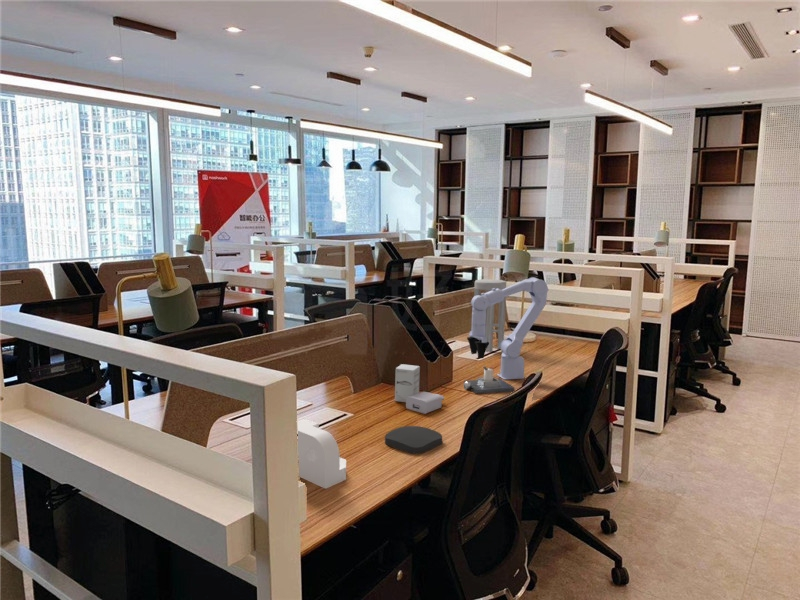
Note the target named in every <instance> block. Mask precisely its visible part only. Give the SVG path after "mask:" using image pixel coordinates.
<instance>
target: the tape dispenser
mask: <svg viewBox="0 0 800 600" xmlns="http://www.w3.org/2000/svg"><path fill="white" fill-rule="evenodd" d="M297 421H298V453H299V476H298V478H302V479H304V480H306V481H308V482H310V483H312V484H314V485H316V486H318V487H321V488H323V489H325V490H326V489H329V488H330V487H332V486H335V485H337V484H339V483H341V482H343V481H346V480H347V459H345V458H343V457H340V449H339V445H338V442H337V441H336V439H335V438H334V436H333V435H332V434H331V433H330V432H329V431H327V430H325V429H323V428H319V427H320V425H319V423H318V422H315V421H312V420H309V419H306V418H303V419H301V420H297Z"/></svg>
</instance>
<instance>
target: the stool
mask: <svg viewBox="0 0 800 600" xmlns="http://www.w3.org/2000/svg"><path fill="white" fill-rule="evenodd" d="M493 288H495V289H497V288H498V289H500V290H502V289H505V288H507V281H505V280H501V279H492V278H487V279H486V278H485V279H483V278H482V279H475V281H474V287H473V289H474V290H473V291H474V293H473V294H474V295H473V297H474V296H476V295H480V296H481V293H482V291H485V293H487V292H489V291H492V289H493ZM506 299H507V296H506V297H504V299H503V301H501V302H499V303H498V322H497V323H494V321H495V320H494V319H495V304H494V305H491V306H488V307H487V308H486V321H485V335H486V338H487V342H489V345H488V346H487V348H486V351H485V352H493V348H494V347H493V346H494V333H497V346H496V347H497V349H499V350H501V349H500V344H501V342H502V341H503V340H505V325H506V324H505V321H506V319H505V318H506ZM494 327H497V329H495V328H494Z"/></svg>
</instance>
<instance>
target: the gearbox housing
mask: <svg viewBox="0 0 800 600" xmlns="http://www.w3.org/2000/svg"><path fill="white" fill-rule="evenodd" d="M463 388H464V390H466V391H467V390H470V391H471V392H473V394H475V395H478V394H481V395H482V394H493V393H495V394H497V393H511V392H515V387H514V386H512V384H509V383H508V382H506V381H505V380H504V379H503V378H496V377H495V376H493V381H488V382H485V381H484V376H481V377H477V379H474V380H463Z"/></svg>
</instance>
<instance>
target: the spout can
mask: <svg viewBox="0 0 800 600" xmlns="http://www.w3.org/2000/svg"><path fill="white" fill-rule="evenodd" d="M482 369H483V377H484V381H485V382H488V381H493V377H494V369H493V368H487V367H486V366H485V365H484V366H483V367H482Z"/></svg>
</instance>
